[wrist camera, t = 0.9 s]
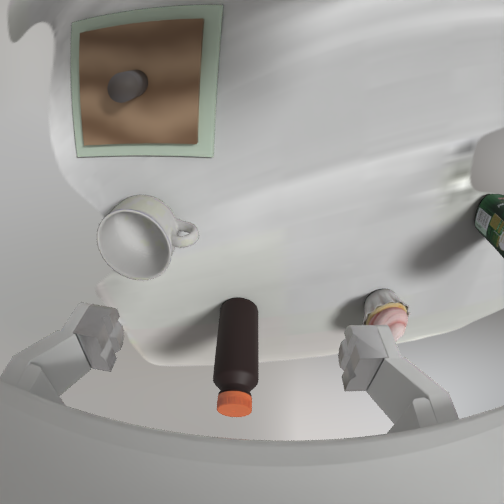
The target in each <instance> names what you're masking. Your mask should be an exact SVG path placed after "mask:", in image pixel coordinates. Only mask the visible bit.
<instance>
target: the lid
mask: <svg viewBox="0 0 504 504" xmlns="http://www.w3.org/2000/svg"><path fill="white" fill-rule="evenodd" d="M203 30H204V19H203V18H199V19H173V20H160V21H149V22H140V23H132V24H125V25H118V26H112V27H106V28H101V29H96V30H91V31H86V32H82V33H80V39H79V84H80V105H81V120H82V131H83V141H84V146H86V145H105V144H144V143H164V144H197V143H198V124H199V96H200V76H201V58H202V43H203Z"/></svg>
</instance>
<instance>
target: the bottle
mask: <svg viewBox="0 0 504 504" xmlns="http://www.w3.org/2000/svg"><path fill="white" fill-rule="evenodd" d="M213 381H214V383H215V385H216V386H217V387H218V388H219V389H220V390H221V391H220V392H219V395H218V401H217V411H218V412H219V413H221V414H222V415H225V416H230V417H242V416H246V415H249V414H250V413H251V411H252V398H251V393H250V391H251V390H252V389H253V388H254V387H256V385H257V383H258V309H257V306H256V305H255V304H254V303H253V302H251V301H250V300H247V299H244V298H233V299H230V300H227V301H226V302H225V303H223V305H222V307H221V309H220V318H219V327H218V336H217V346H216V355H215V365H214V375H213Z"/></svg>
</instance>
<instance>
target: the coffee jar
mask: <svg viewBox="0 0 504 504" xmlns="http://www.w3.org/2000/svg"><path fill="white" fill-rule="evenodd" d="M475 226H476V228H477V230H478V231H479V232H480V233H481V234H482V235H483V236H484V237H485V238H486V239H487V240H488V241H489V242H490V243H491V244H492V245H493V247H494V248H495V249H496V250H497V251H498V252H499V253H500V254H501V255H502V257H503V258H504V195H500V194H489V195H487V196H486V197H485V198H484V199H483V200H482V202H481V203H480V205H479V207H478V209H477V212H476V217H475Z"/></svg>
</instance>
